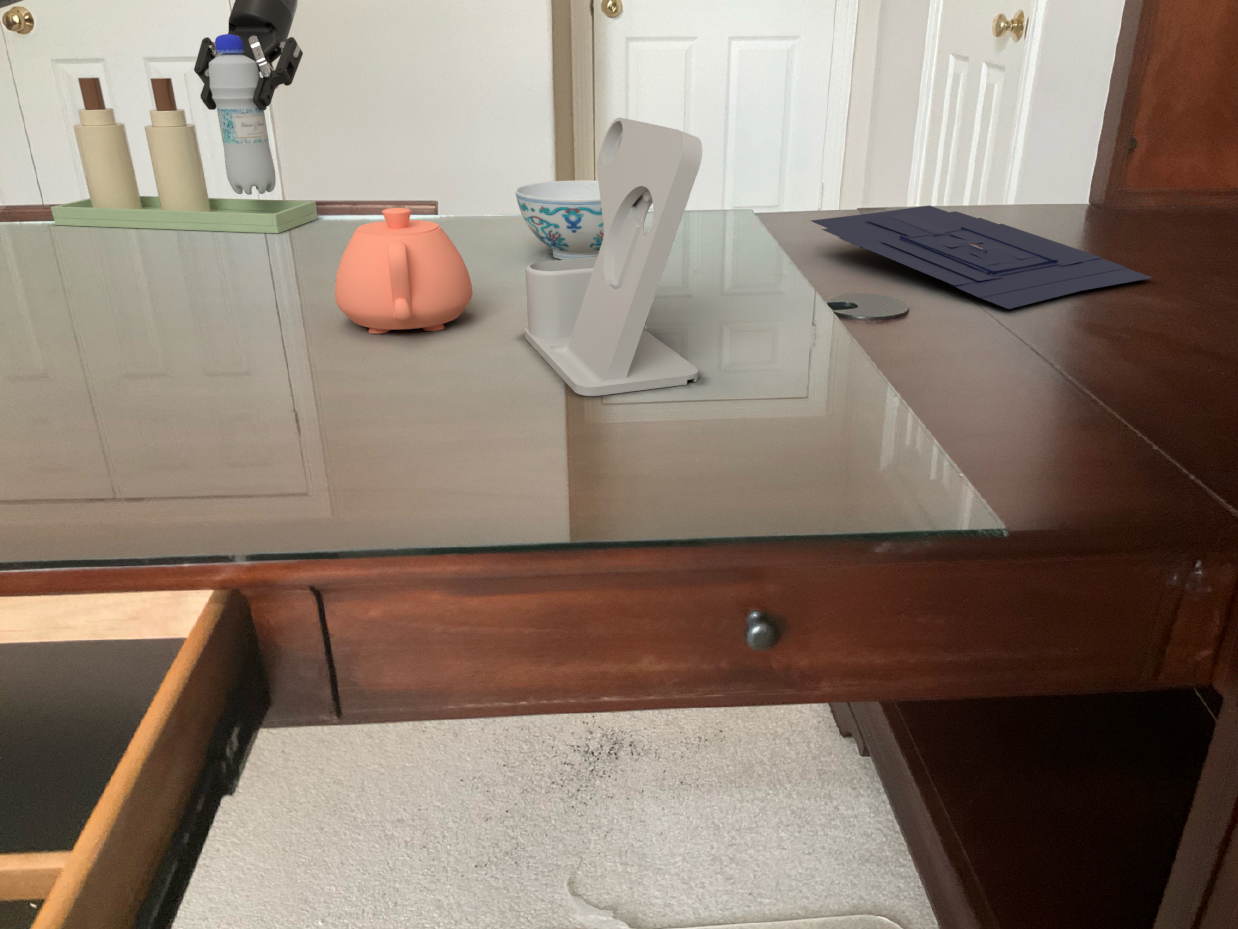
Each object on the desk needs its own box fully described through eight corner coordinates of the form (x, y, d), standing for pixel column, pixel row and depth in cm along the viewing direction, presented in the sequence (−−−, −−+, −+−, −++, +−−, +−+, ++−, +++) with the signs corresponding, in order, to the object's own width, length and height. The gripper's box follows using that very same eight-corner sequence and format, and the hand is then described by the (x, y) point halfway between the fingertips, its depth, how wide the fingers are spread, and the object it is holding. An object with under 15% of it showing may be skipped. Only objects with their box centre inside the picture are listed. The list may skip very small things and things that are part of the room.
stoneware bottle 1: (86, 212, 134) (54, 77, 126) (131, 207, 138) (102, 76, 131) (105, 217, 130) (73, 78, 122) (150, 211, 134) (122, 77, 127)
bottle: (243, 197, 125) (215, 34, 116) (219, 192, 129) (190, 33, 120) (288, 191, 129) (265, 33, 121) (264, 186, 133) (240, 33, 125)
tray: (55, 225, 131) (50, 206, 130) (108, 211, 141) (105, 194, 140) (278, 233, 125) (275, 214, 124) (318, 218, 135) (315, 201, 134)
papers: (934, 224, 122) (941, 197, 120) (1145, 301, 101) (1157, 269, 99) (793, 245, 111) (798, 214, 109) (998, 336, 89) (1009, 300, 87)
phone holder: (520, 333, 83) (510, 118, 75) (627, 322, 86) (627, 114, 78) (580, 397, 68) (575, 138, 60) (706, 381, 71) (716, 132, 63)
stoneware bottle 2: (154, 215, 132) (126, 78, 124) (197, 209, 136) (173, 76, 129) (175, 220, 128) (147, 79, 121) (219, 214, 133) (195, 77, 125)
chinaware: (543, 274, 103) (540, 203, 100) (502, 248, 115) (498, 184, 112) (664, 262, 108) (665, 194, 105) (612, 238, 121) (612, 177, 118)
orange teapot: (472, 301, 92) (465, 196, 88) (477, 343, 80) (469, 222, 76) (345, 307, 91) (331, 199, 86) (330, 351, 78) (313, 227, 74)
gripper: (325, 29, 131) (296, 125, 125) (232, 29, 133) (199, 124, 128) (300, -15, 124) (269, 85, 118) (203, -14, 126) (167, 84, 121)
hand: (233, 105), depth 123 cm, fingers closed on bottle, 7 cm apart
